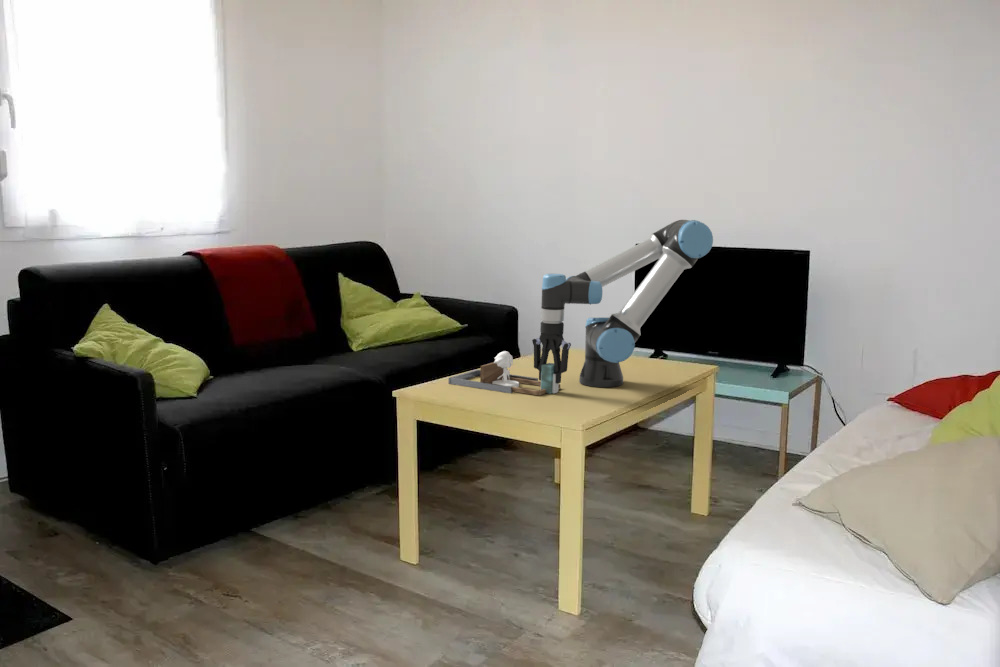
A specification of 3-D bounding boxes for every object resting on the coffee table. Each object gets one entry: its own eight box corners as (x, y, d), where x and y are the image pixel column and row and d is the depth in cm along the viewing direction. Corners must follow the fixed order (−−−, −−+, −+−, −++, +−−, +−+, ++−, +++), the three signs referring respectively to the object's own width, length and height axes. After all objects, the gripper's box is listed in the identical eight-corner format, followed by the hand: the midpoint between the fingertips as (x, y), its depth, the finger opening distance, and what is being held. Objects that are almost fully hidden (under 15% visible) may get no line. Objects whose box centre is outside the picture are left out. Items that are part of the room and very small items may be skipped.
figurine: (518, 389, 290) (519, 353, 288) (491, 388, 290) (491, 353, 288) (519, 383, 299) (519, 349, 297) (492, 382, 299) (492, 348, 297)
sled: (564, 388, 290) (565, 362, 289) (543, 396, 279) (544, 368, 277) (502, 379, 303) (502, 354, 302) (480, 386, 292) (480, 360, 291)
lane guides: (538, 383, 298) (538, 378, 297) (510, 393, 283) (510, 387, 283) (477, 375, 311) (477, 369, 311) (448, 383, 297) (448, 377, 297)
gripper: (580, 323, 280) (577, 393, 284) (536, 317, 289) (533, 385, 293) (569, 325, 274) (566, 397, 278) (524, 319, 283) (521, 389, 287)
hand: (549, 391), depth 285 cm, fingers closed on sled, 4 cm apart
